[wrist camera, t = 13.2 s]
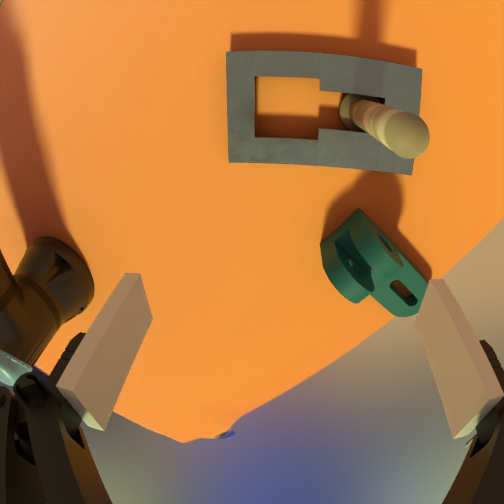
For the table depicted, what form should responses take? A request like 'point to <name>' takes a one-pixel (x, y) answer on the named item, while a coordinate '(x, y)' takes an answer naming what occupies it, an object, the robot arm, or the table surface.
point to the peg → (385, 124)
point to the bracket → (371, 266)
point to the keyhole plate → (331, 79)
